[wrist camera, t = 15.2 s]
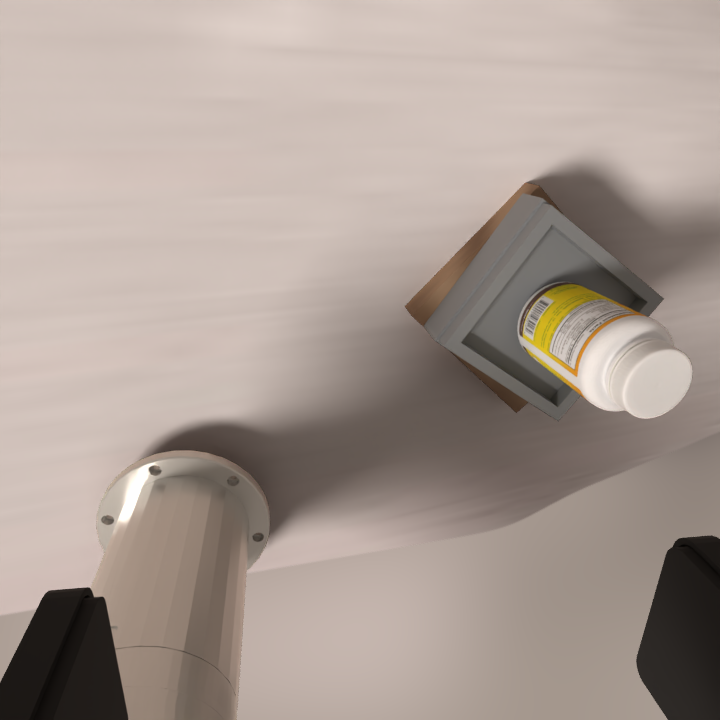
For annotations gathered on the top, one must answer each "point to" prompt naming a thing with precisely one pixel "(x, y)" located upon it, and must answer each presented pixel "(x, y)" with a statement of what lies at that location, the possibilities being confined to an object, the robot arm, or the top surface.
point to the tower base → (451, 272)
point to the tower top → (527, 297)
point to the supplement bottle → (604, 350)
